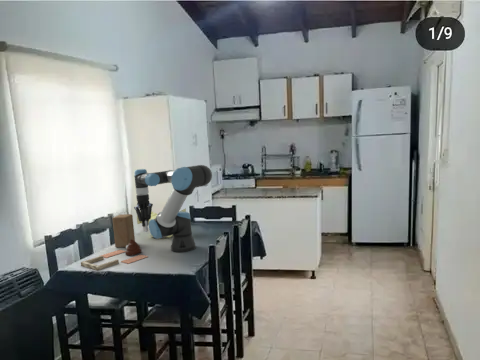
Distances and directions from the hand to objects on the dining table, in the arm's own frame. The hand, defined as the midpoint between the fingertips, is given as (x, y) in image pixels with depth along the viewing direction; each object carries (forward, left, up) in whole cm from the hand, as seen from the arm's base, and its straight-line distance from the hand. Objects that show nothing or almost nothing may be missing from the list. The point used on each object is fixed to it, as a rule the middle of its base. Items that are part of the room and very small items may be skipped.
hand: (145, 231), depth 260 cm
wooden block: (+21, +2, -12) cm, 24 cm away
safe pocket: (0, +33, -11) cm, 35 cm away
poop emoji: (0, +11, -12) cm, 16 cm away
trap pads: (0, +18, -11) cm, 21 cm away
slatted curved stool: (+17, -27, -12) cm, 34 cm away
